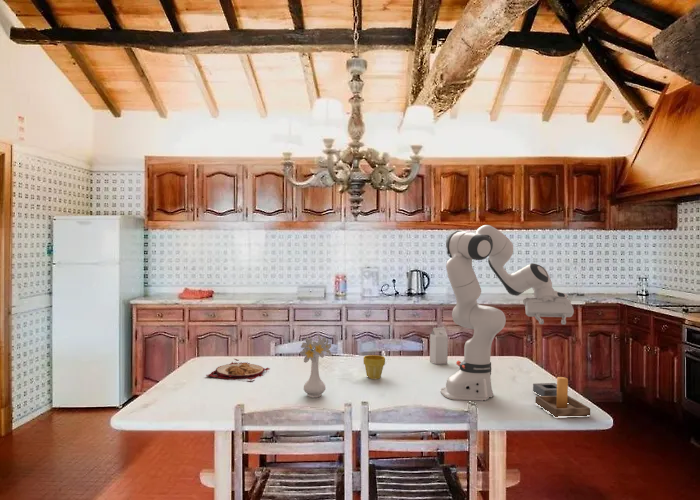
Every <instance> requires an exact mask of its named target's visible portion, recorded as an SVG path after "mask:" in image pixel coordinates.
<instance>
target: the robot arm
mask: <svg viewBox="0 0 700 500" xmlns="http://www.w3.org/2000/svg"><path fill="white" fill-rule="evenodd" d="M445 248H446V253H447V256H448V257H449V259H448V260H447V261H446V266H445V267H446V272H447V277H448V280H449V284H450V285H451V288H452V290H453V294H454V297H455V300H456V305H455V306H453V308H452V312H451V317H452V321H453V323H454V324H455V325H457V326H460V327H462V328H464V329H469V330H473V335H472V337H471V338H469V339H467V340H466V341H465V344H464V349H463V350H464V354H463V357H464V358H463V359H464V360H463V361H462V362H461V361H460V360H457V361H456V365H457V366H459V369H458V370H457V371H456V372H454V373H453V374H451V375H450V376H449V377H448V378H447V379H446V382H445V387H441V388H440V394H441V396H443V397H445V398H447V399H449V400H458V401H459V400H460V401H483V400H485V401H487V400H489V399H490V398H489V397H491V398H493V397H494V392H493V388H492V381H491V380H492V379H491V375H492V362H491V356H492V355H491V352H492V343H493V340H494V339H495V337H496V335H497V334H499V332H501V331H502V330H503V329H504V327H505V326H506V320H507V318H506V315H505V313H504V311H503V310H501V309H499V308H497V307H494V306H489V305H483V304H482V305H481V304H479V302H478V301H477V300H479V297H481V294H482V288H481V285H480V282H479V280H478V278H477V275H476V272H475V271H474V268H473V260H474V261H483V260H485V259H487V263H488V265H489V267H490V269H491V270H492V272H493V273H494V274H495V276H496V277H497V279H498V280H499V281H500V282H501V284H502V285H503V286H504V288H505V290H506V291H507V293H508V294H510V295H512V296H516V297H517V296H520V295H521V294H522V293H524V292H526V291H528V290H529V289H532V290H533V296H534V297H526V298H524V299H523V301H522V302H523V306H524V307H525V308H524V309H525V315H526V316H527V317H530V318H531V317H534V318H535V320H537V321H538V324H539V325H544V323H545V321H544V318H561V321H560V324H561V325H564V326H565V325H566V324H567V318H571V317H573V316H574V313H575V310H574V306H573V305H572V302H571V301H570V299H568V294H567V293H564V292H560V291H557V290H555V289H554V288H553V282H552V279H551V277H550V274H549V272H548V271H547V270H546V268H544V267H543V266H541V265H539V264H537V263H533V262H531V263H530V264H529V263H528V265H525V266H523V267H521V268H520V269H518V270H516V271H515V272H512V273H508V272H507V270H506V269H505V268H504V266H505V265H506V264H507V263H508V262H509V261H510V259H511V258H512V257H513V253H514V244H513V242H512V240H511V239H510V238H509V237H508V236H506V235H505V234H504V233H503V232H501V231H500V230H498V228H496V227H494V226H492V225H490V224H484V225H482V226H481V225H480V227H478V228H477V230H476V231H475V232H473V231H466V230H465V231H464V230H463V231H462V230H455V231H452V232H451V233H449V234H448V235H447V237H446V241H445ZM492 396H493V397H492ZM486 399H487V400H486Z"/></svg>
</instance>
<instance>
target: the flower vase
mask: <svg viewBox="0 0 700 500" xmlns="http://www.w3.org/2000/svg"><path fill="white" fill-rule="evenodd" d="M312 339H313V337H312V336H311V337H310V338H309V336H306V337H305V342H302V344H301V345H300V348H302V350H301V351H299V354H300V355H301V356H303V357H304V358H303V363H307V362H309V360H310V362H311V365H310V366H311V368H310V369H311V370H310V376H309V378H308V380H307V381H306V382H304V385H303V390H304V392H305V394H306V395H307V397H308V398H311V399H317V398H321V397H322V395H323V394H324V392H325V391H326V390H327V389H326V388H327V387H326V384H325V383H324V381H322V378H321V376H320V373H319V369H320V368H319V359H320V358H321V359H322V358H324V355H325V354H324V353H326V354H327V356H332V352H331V350H330V349H331V348H332V344H331V343H329V338H326V337H325V336H324V337H321V336H320V334H318V335H317V339H318V340H317V341H315V340H312Z"/></svg>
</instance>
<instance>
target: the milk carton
mask: <svg viewBox="0 0 700 500" xmlns="http://www.w3.org/2000/svg"><path fill="white" fill-rule="evenodd" d="M429 336H430V337H429V362H431V363H433V364H434V365H445V364H447V365H448V356H449V355H448V353H449V352H448V351H449V349H448V348H449V347H448V346H449V344H448V343H449V336H448V333H447V331H446V328H445V327H433V328H432V331H431V332H430V334H429Z"/></svg>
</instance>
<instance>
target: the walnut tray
mask: <svg viewBox="0 0 700 500" xmlns="http://www.w3.org/2000/svg"><path fill="white" fill-rule="evenodd" d="M556 402H557V396H538V395H535V402H534V403H537V404H538V405H540V406H541V407H543V408H544V409H545V410H547V411H549V412H550V413H551V414H553V415H554V416H555V417H558V416H587V415H590V416H591V408H590V407H588V406H587V405H585V404H583V403H582V402H580V401H578V400H576V399H575V398H572V397H571V396H569V395H568V400H567V403H569V404H567V408H556Z"/></svg>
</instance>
